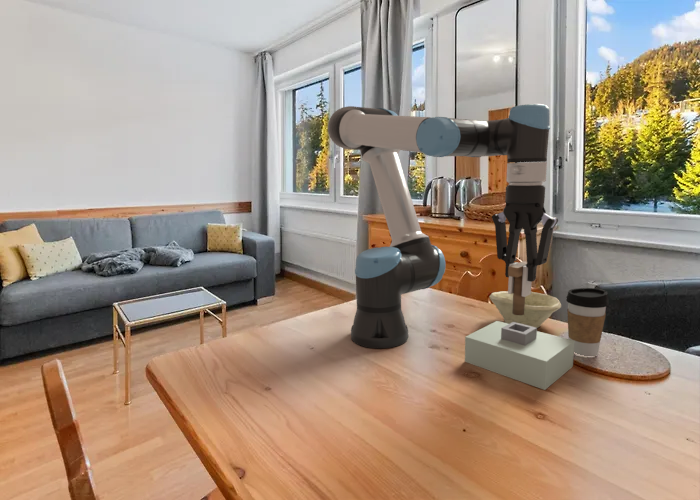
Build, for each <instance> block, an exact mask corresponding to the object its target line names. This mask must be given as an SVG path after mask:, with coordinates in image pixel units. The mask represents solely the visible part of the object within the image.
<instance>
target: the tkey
mask: <svg viewBox="0 0 700 500" xmlns="http://www.w3.org/2000/svg"><path fill="white" fill-rule="evenodd" d="M526 264H527V260H526V261H520V262H517V264H514V265H512V266H509V267H508V276H512V277H514V291H513V310H512V313H513V314H514V315H524V308H525V297H523V296H522V279H523V266H526Z"/></svg>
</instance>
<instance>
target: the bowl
mask: <svg viewBox="0 0 700 500" xmlns="http://www.w3.org/2000/svg"><path fill="white" fill-rule="evenodd" d="M488 297H489V300H490V301H491V302H492V303H493V304H494V306H495V308H496V309H497V310H498V312H499V314H500V315H501V317H502V318H503V321H504V323H507V324H510V323H512V322H516V323H520V324H524V325H528V326H532V327H536V328H537V329H538V328H539V327H541V326H542V325H543V323H544V322H545V321H547V320H548V319H549V318H550V317H551V316H552V314H553V313H555V312H557V311H558V310H559V309H561V308H562V304H561V301H560V300H559V299H558V298H557V297H555V296H552V295H550V294H544V293H540V292H534V291H531V294H530V295H528V296H526V297H525V308H524V315H514V314H513V313H512V310H513V293H512V294H509V293H508V290H507V291H505V290H504V291H503V290H502V291H495V292H492V293H491V294H490V295H489V296H488Z"/></svg>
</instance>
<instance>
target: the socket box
mask: <svg viewBox="0 0 700 500" xmlns="http://www.w3.org/2000/svg"><path fill="white" fill-rule="evenodd" d="M464 343H465V344H464V362H465V363H466V364H467V363H468V364H471V365H473V366H476V367H478V368H482V369H484V370H487V371H490V372H492V373H496V374H498V375H501V376H503V377H504V376H505V377H507V378H509V379H513V380H515V381H518V382H520V383H523V384H527V385H529V386H532V387H536V388H538V389H540V390H544V391H546V390H547V389H548V388H549V387H550V386H552V385H553V384H554V383H555V382H556V381H557V380H559V379H560V378H561V377H562V376H564V374H566V373H567V372H568V371H569V370H570V369H572V368H573V366H574V356H575V355H574V340H570V339H569V338H565V337H563V336H558V335H553V334H550V333H546V332H541V331H538V328H536V327H532V326H528V325H524V324H520V323H516V322H512V323H510V324H507V323H505V322H503V321H500V320H495V321H494V322H491V323H490V324H487V325H486V326H484V327H482V328H480V329H478V330H476V331H474V332H471V333H470V334H468V335H466V336H464Z"/></svg>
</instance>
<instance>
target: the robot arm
mask: <svg viewBox="0 0 700 500" xmlns="http://www.w3.org/2000/svg"><path fill="white" fill-rule="evenodd" d="M550 129H551V126H550V108H549V107H548V105H546V104H541V103H531V104H530V103H529V104H519V105H516V106H512V107H511V108H510V110H509V113H508V117H507V118H503V119H494V120H479V119H462V118H452V117H445V116H435V117H430V116H413V115H412V116H410V115H398V114H397V113H396V112H395V111H393V110H390V109H386V108H384V107H378V108H377V107H375V108H374V107H373V108H372V107H362V106H351V105H350V106H349V105H348V106H344V107H340V108H339V109H338V108H337V110H335V111H334V112H333V113H332V115H330V117H329V120H328V124H327V133H328V135H329V138H330V139H331V141H332V142H333V143H334V145H336V146H338V147H339V148H342V149H345V150H358V151H360V156H361V158H362V160H363V161H364V162H366V163H367V164H369V167H370V170H371V173H372V177H373V180H374V183H375V187H376V190H377V191H376V192H377V195H378V198H379V201H380V205H381V207H382V211H383V214H384V217H385V221H386V225H387V229H388V232H389V234H390V239H391V243H390V245H389V246H380V247H373V248H372V247H371V248H368V249H366V250H365V249H364V250H363V251H362V252H360V253H359V254H358V255H357V256H356V259H355V269H354V274H355V290H356V294H355V296H356V311H355V314H354V319H353V324H352V326H351V328H350V339H351V341H352V340H353V341H352V342H353V343H354V342H355V343H354V344H356V345H358V346H360V345H361V347H364V348H370V349H387V348H388V349H390V348H395V347H397V346H401V345H403V344H404V343H406V342H407V341H408V340H409V327H408V326H407V324H406V321H405V317H404V313H403V311H402V295H404V294H409V293H412V292H416V291H420V290H427V289H429V288H430V287H433V286H436V285H437V284H438V283H440V282H441V280H442V279H443V276H444V274H445V272H446V258H445V255H444V253H443V251H442V250H441V249H440V248H438V246H436V245H434V244H432V243H431V239H430V236H429V235H427V234H426V233H423V232H422V229H421V226H420V222H419V219H418V216H417V213H416V210H415V209H416V208H415V207H414V206H415V205H414V203H413V199H412V196H411V193H410V191H409V190H410V189H409V186H408V183H407V179H406V176H405V172H404V171H403V167H402V163H401V160H400V157H399V153H400V151H406V152H411V153H412V152H413V153H419V154H423V155H425V156H429V157H434V158H435V157H436V158H444V157H466V158H467V157H468V158H481V157H494V156H506V157H507V158H506V159H507V160H506V166H507V167H506V180H505V181H506V183H508V185H506V186H505V206H504V208H503V210H502V211H501V212H499V213H496V214H493V215H492V216H491V219H492V222H493V224H494V228H495V243H496V256H497V259H498V260H502V261H503V262H505V273H504V274H505V278H508V283H507V287H508V288H507V291H508V293H509V294H512V293H513V291H514V277H512V276H508V267H509V266H512V265H514V264H517V263H518V262H516V261H517V260H518V259H517V253H518V248H519V240H520V235H521V232H522V230H523V234H524V235H525V236H524V237H525V238H524V239H525V248H526V249H525V250H526V251H525V253H526V262H527V264H526V266H523V279H522V296H523V297H526V296H528V295H530V294H531V292H532V282H534V281H536V279H537V267H538V266H541V265H544V264H547V262H548V258H549V257H548V256H549V251H550V248H551V241H552V238H553V232H554V228H555V227H556V225H557V224H558V222H559V218H557V217H555V216H554V217H553V216H550V215H549V214H547V213H546V209H545V198H546V186H545V185H544V184H543V183H545V182H546V181H547V164H548V162H547V161H548V160H547V159H548V158H547V157H548V147H549V146H548V145H549V135H550V134H549V133H550ZM506 221H507V222H508V223H509V227H508V236H507V224H506ZM541 221H542V226H543V227H542V229H541V233H540V239H539V244H538V243H537V242H538V240H537V237H538V236H537V233H538V224H540V222H541ZM507 237H508V238H507Z"/></svg>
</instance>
